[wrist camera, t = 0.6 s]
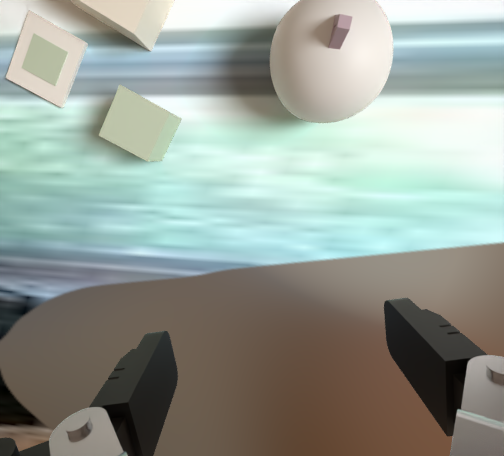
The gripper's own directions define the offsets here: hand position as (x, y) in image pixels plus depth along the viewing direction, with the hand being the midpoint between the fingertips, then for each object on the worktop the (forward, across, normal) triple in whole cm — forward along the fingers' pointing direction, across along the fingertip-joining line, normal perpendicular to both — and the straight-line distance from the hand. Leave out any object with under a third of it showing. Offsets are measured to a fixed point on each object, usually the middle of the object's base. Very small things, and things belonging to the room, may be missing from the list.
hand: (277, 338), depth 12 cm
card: (+25, +19, -19) cm, 37 cm away
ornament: (+25, -8, -14) cm, 30 cm away
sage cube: (+25, +10, -11) cm, 29 cm away
